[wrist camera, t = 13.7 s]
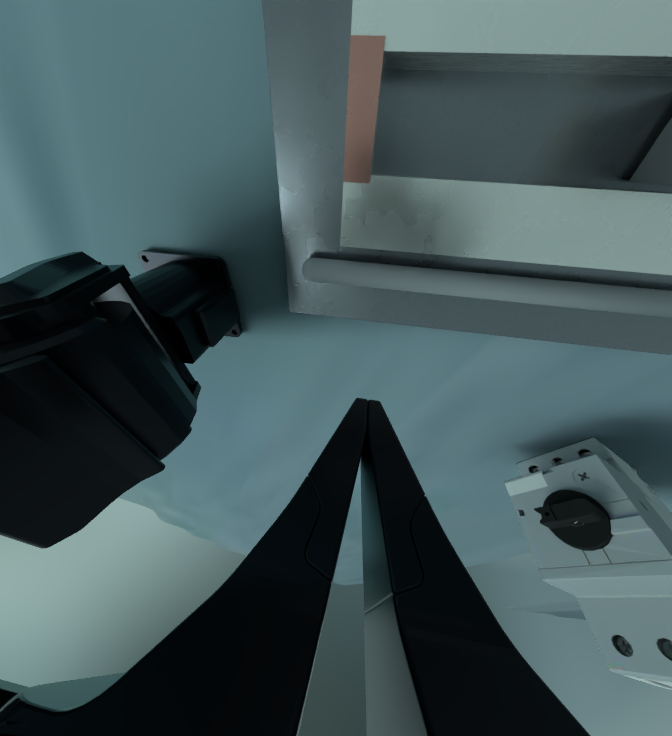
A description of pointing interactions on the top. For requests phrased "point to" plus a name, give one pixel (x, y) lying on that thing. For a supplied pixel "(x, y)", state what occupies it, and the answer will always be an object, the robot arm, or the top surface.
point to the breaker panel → (475, 155)
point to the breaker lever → (657, 160)
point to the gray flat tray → (491, 286)
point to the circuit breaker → (603, 551)
